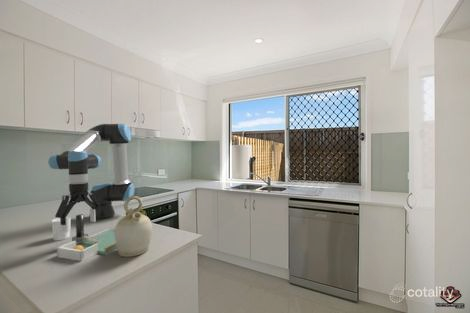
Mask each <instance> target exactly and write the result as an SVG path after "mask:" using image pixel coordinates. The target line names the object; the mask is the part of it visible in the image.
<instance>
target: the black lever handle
mask: <svg viewBox="0 0 470 313" xmlns="http://www.w3.org/2000/svg"><path fill="white" fill-rule="evenodd" d="M84 222H85V221H84V214H81V213H80V214H76V215H75V233H76V234H75V235H74V236H72V237H71V242H72V241H76V242H80V241H81V242H86V243H93V244H99V243H100V238H99V237H91V235H89V233H85V223H84Z"/></svg>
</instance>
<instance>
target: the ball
mask: <svg viewBox="0 0 470 313" xmlns="http://www.w3.org/2000/svg"><path fill="white" fill-rule="evenodd" d="M73 249H77V250H84V248H83V246H81V245H78V246H76V247H74V248H73Z"/></svg>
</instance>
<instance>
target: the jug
mask: <svg viewBox="0 0 470 313" xmlns="http://www.w3.org/2000/svg"><path fill="white" fill-rule="evenodd" d="M132 200H136V201H138V207H136V208H133V207H131V208H130V209H129V207H128V205H129V202H131V201H132ZM143 204H144V202H143V200H142V198H141V197H140V196H137V195H133V196H131V197H129V198H127V199H126V201H124V203H123V209H124V211H125V213H126V212H128V215H127V216H126V215H125V216H123V217H122V218H121V219H119V220H118V221H117V223H116V225H115V227H114V228H115V229H114V230H115V233H114V235H115V241H116V245H117V249H116V250H117V251H118V255H119V256H121V257H125V258H131V257H136V256H140V255H143V254H144V253H146V252H147V251H148V250H149V248H150V245H151V240H152V233H153V224H152V223H153V222H152V220H151V219H150V218H149V217H148V216H147V215H146V214H145V215H143V214H141V213H140V212H139V211H140V210H142V208H143Z"/></svg>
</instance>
